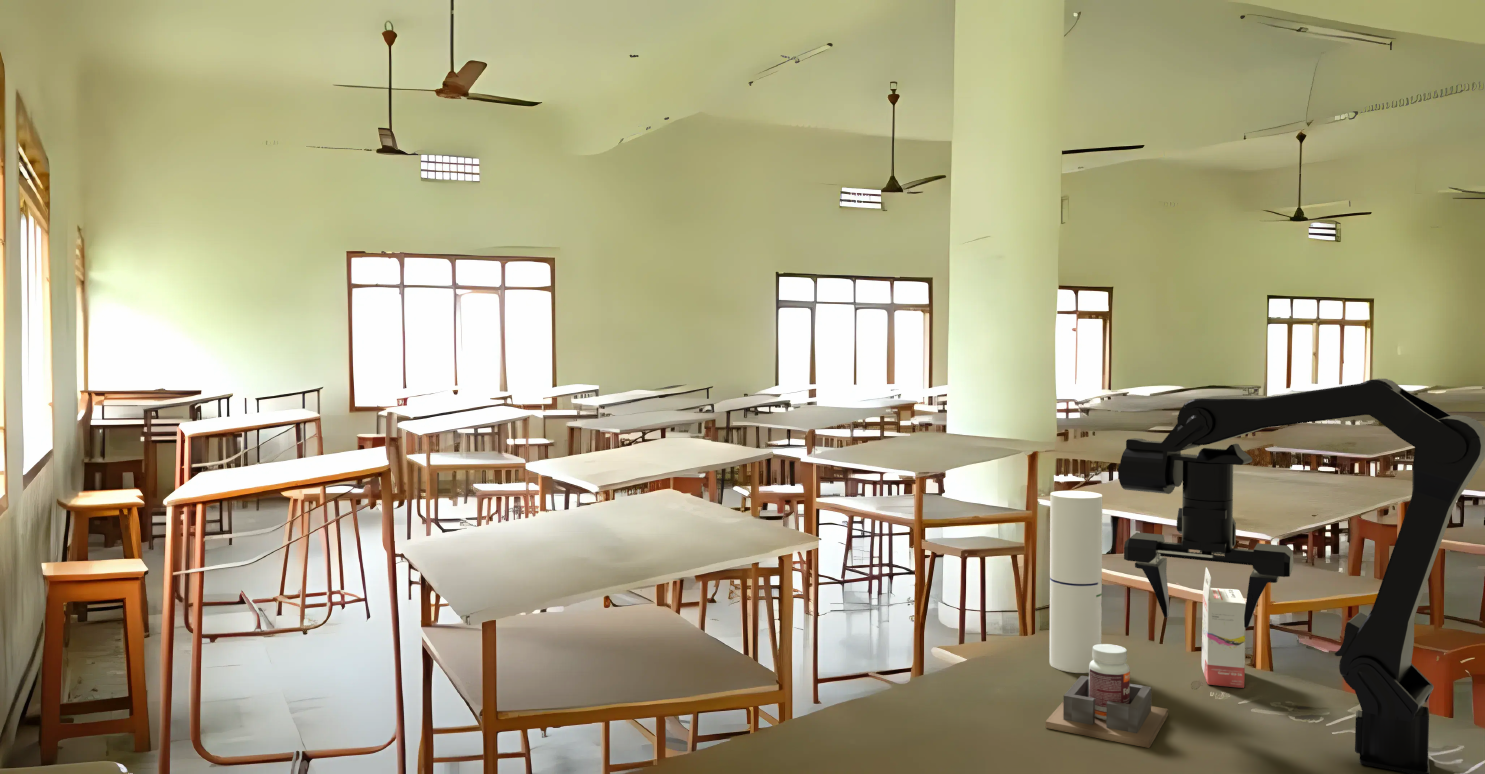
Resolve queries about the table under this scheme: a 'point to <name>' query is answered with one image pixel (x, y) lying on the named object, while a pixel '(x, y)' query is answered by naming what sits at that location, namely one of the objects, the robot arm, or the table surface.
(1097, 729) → the bottle holder
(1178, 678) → the table surface
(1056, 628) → the cylindrical container
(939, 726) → the table surface
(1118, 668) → the pill bottle
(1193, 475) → the robot arm
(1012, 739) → the table surface
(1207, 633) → the white cardboard box
